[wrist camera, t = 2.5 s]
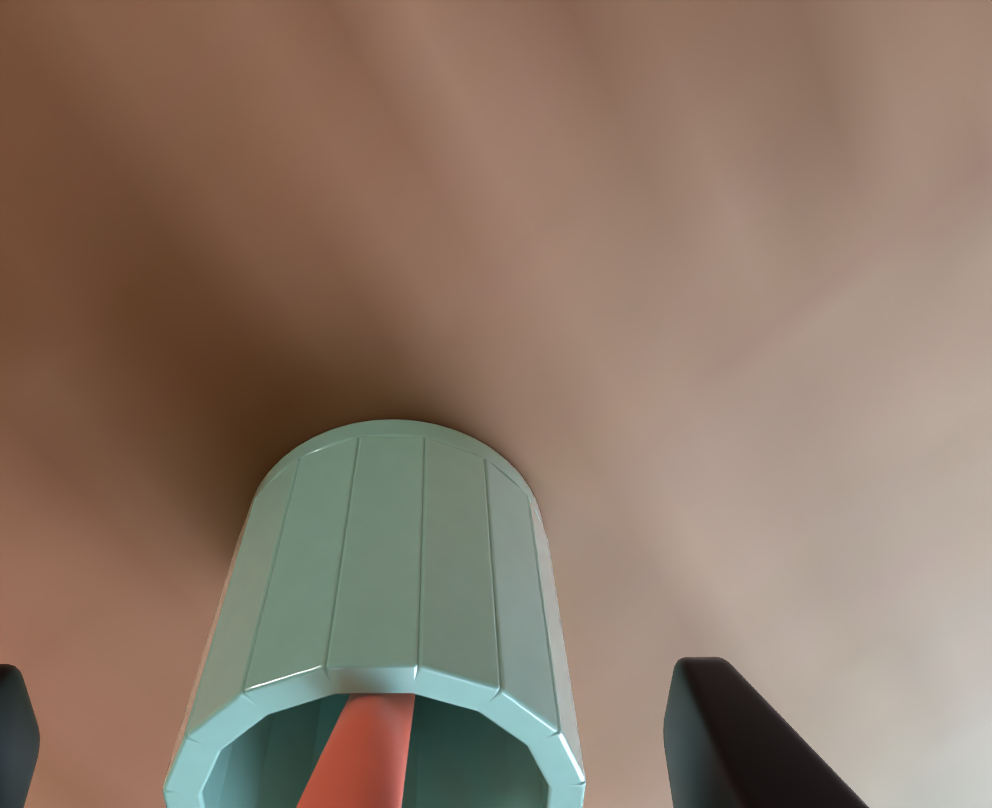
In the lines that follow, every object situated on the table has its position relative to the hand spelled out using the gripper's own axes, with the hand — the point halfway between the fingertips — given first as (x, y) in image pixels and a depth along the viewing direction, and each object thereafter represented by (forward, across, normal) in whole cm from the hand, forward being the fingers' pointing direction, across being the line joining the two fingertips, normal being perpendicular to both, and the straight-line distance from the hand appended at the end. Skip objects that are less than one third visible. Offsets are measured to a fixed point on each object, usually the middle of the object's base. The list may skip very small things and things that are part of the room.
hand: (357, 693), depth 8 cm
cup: (+6, 0, +3) cm, 7 cm away
